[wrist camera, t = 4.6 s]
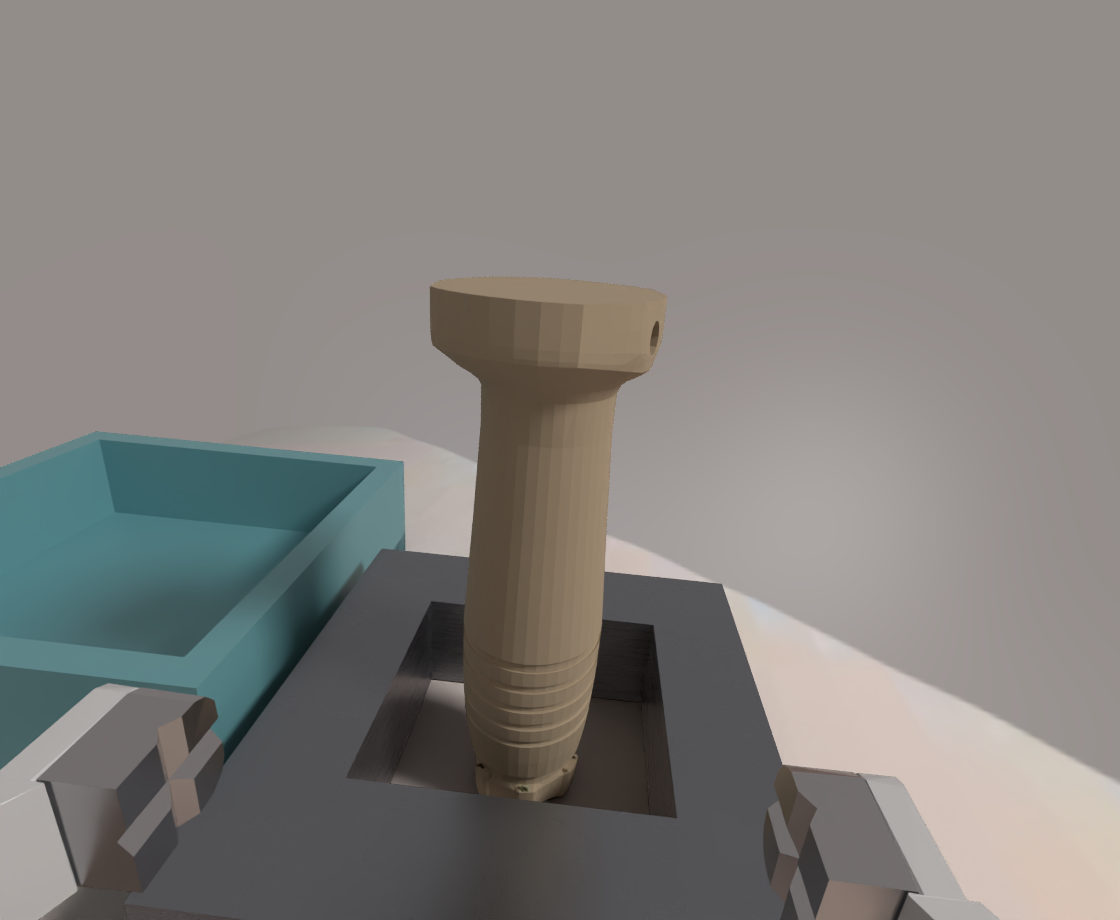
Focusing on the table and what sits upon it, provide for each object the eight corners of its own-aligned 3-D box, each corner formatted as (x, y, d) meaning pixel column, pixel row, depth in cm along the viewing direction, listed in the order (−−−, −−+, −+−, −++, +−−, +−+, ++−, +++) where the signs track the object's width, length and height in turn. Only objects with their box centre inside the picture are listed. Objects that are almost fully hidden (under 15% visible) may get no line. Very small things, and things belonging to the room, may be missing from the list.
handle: (397, 830, 17) (380, 283, 12) (501, 685, 22) (521, 274, 17) (553, 904, 15) (616, 312, 10) (623, 730, 21) (686, 291, 16)
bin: (-315, 763, 17) (-403, 618, 15) (114, 519, 32) (96, 431, 30) (222, 831, 16) (196, 688, 15) (405, 549, 31) (403, 461, 30)
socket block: (153, 1012, 13) (123, 903, 11) (384, 619, 26) (381, 548, 24) (817, 1105, 12) (862, 1000, 11) (707, 654, 25) (721, 584, 24)
